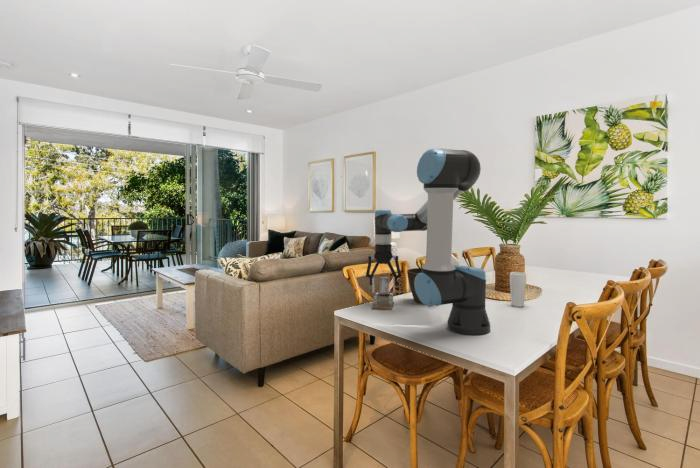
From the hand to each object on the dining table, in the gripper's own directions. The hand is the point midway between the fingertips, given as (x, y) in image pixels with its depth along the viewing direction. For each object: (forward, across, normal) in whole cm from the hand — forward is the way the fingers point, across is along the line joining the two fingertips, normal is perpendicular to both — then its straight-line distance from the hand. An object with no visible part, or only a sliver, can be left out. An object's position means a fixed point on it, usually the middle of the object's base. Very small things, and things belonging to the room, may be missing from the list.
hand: (383, 292), depth 169 cm
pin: (+5, 0, 0) cm, 5 cm away
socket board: (+6, 0, +4) cm, 7 cm away
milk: (+7, -30, -20) cm, 37 cm away
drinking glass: (+7, -60, -8) cm, 61 cm away
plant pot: (+7, -18, -6) cm, 20 cm away
